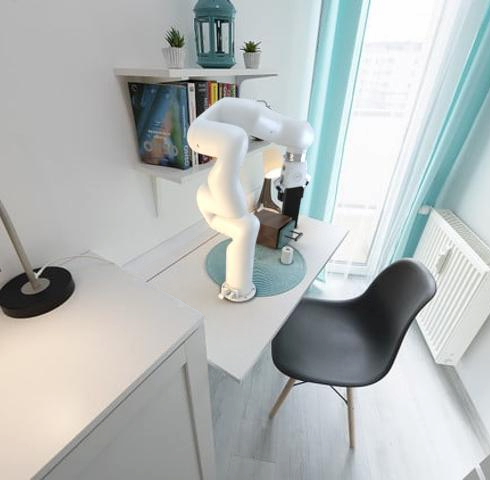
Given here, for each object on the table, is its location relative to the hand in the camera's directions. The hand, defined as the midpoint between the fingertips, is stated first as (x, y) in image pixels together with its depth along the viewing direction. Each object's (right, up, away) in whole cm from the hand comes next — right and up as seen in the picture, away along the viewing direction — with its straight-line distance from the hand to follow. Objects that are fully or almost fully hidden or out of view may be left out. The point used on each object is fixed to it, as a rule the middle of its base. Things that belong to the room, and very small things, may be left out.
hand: (290, 198), depth 117 cm
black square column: (+5, -9, +37) cm, 38 cm away
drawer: (-2, -17, +21) cm, 27 cm away
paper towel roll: (-1, -26, +7) cm, 27 cm away
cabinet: (-7, -16, +24) cm, 29 cm away
